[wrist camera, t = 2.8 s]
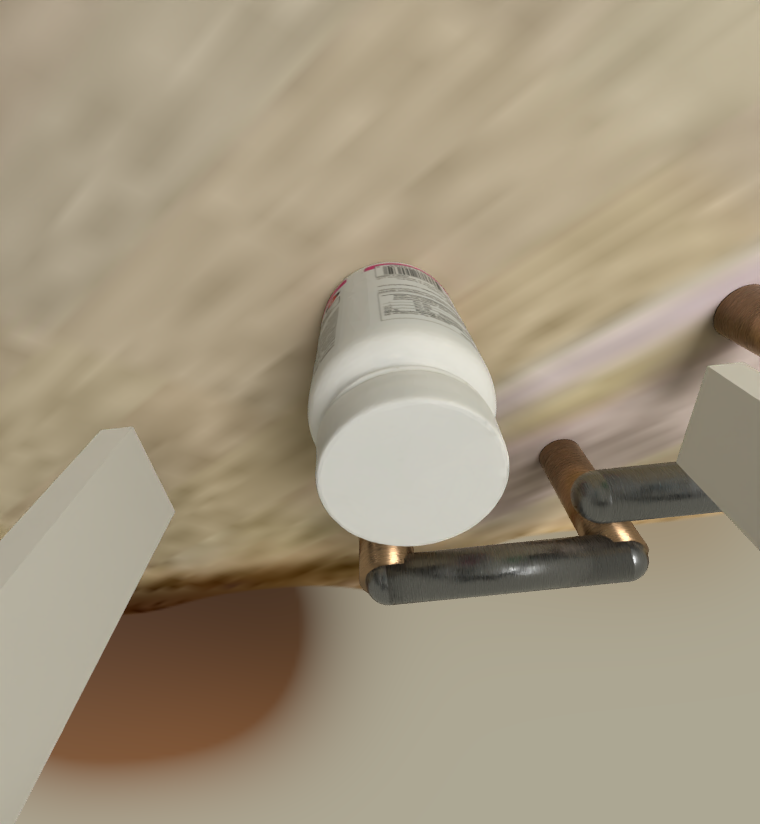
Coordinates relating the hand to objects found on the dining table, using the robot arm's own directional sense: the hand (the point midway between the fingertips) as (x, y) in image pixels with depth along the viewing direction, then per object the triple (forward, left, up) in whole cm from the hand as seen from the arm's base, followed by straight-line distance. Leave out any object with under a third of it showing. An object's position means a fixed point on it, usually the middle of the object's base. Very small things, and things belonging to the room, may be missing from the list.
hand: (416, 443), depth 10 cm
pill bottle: (0, 0, -7) cm, 7 cm away
